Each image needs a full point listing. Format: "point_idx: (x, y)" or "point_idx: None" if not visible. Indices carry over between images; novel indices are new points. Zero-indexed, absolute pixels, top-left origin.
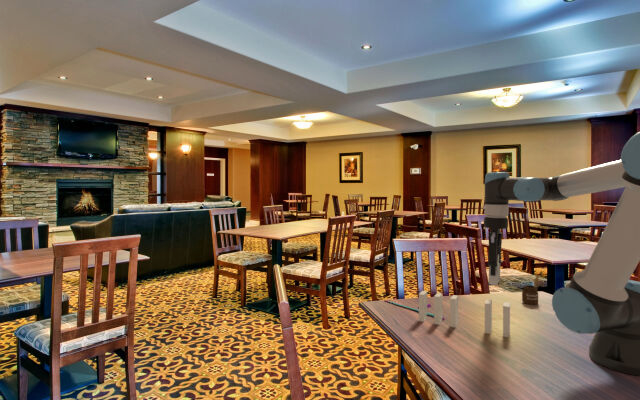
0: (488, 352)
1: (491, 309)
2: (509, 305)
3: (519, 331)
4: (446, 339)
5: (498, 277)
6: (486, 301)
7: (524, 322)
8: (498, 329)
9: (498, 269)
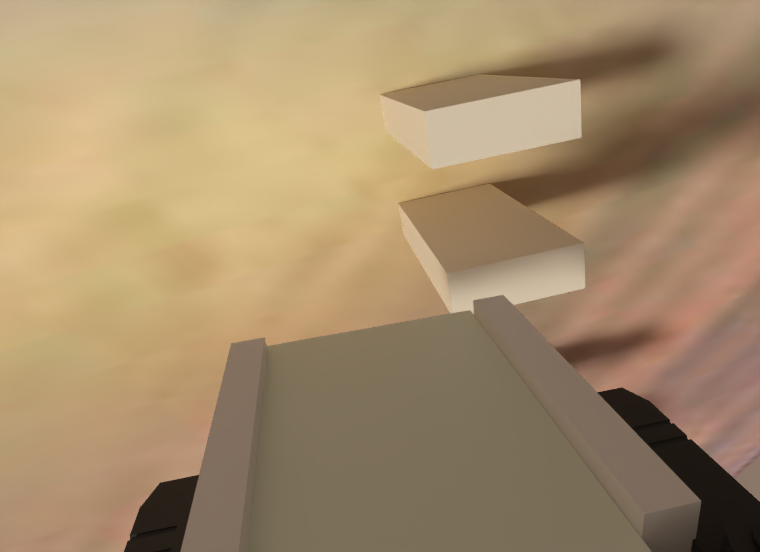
0: (756, 111)
1: (472, 238)
2: (529, 90)
3: (318, 42)
4: (684, 324)
5: (273, 385)
6: (518, 295)
7: (79, 55)
8: (376, 169)
9: (295, 486)
